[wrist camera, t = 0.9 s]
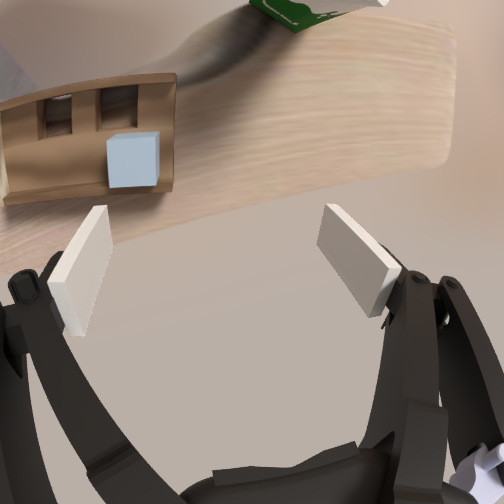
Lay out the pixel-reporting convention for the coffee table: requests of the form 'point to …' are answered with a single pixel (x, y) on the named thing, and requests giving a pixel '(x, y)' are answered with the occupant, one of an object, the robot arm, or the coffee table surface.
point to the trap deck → (79, 141)
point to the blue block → (133, 159)
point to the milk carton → (310, 10)
